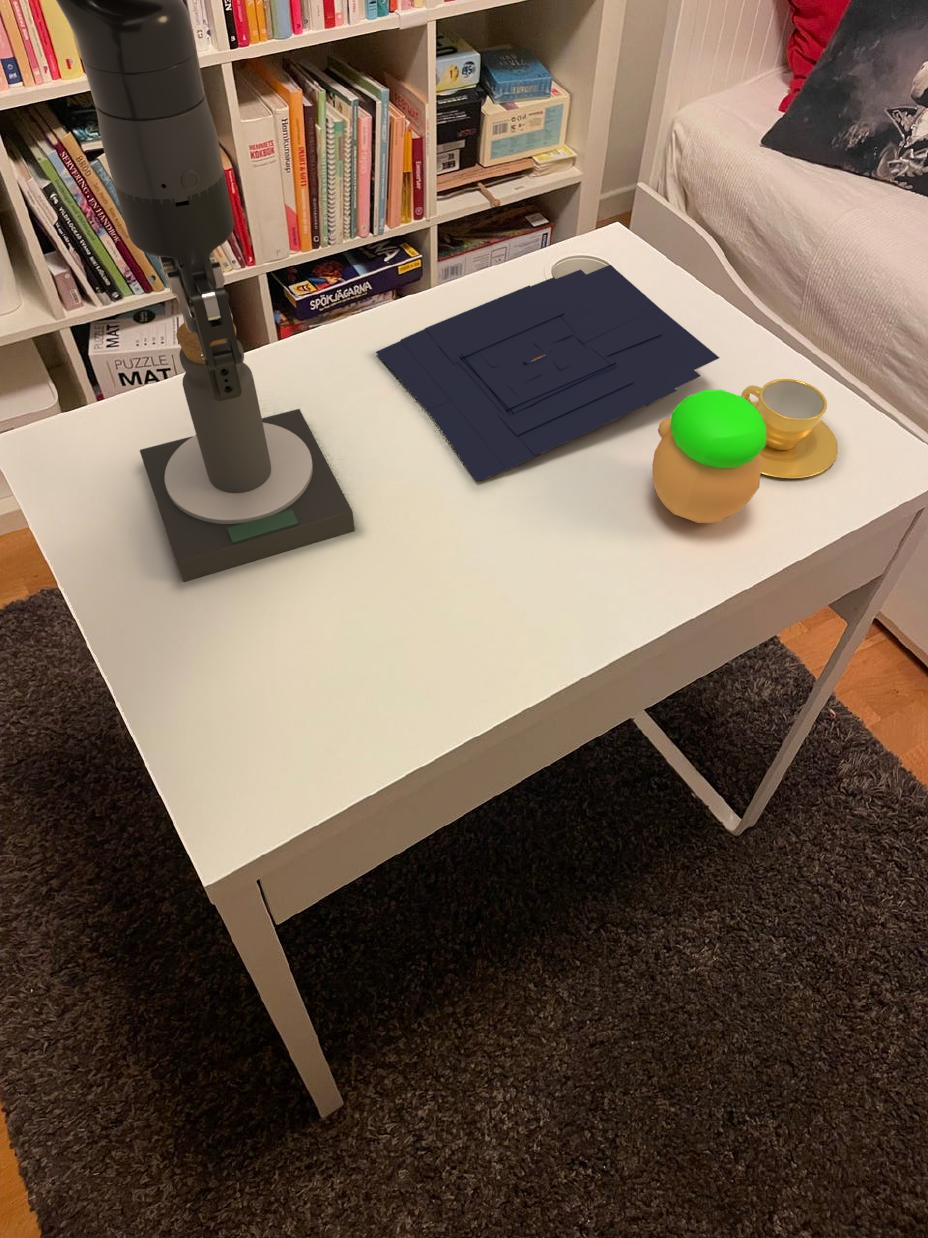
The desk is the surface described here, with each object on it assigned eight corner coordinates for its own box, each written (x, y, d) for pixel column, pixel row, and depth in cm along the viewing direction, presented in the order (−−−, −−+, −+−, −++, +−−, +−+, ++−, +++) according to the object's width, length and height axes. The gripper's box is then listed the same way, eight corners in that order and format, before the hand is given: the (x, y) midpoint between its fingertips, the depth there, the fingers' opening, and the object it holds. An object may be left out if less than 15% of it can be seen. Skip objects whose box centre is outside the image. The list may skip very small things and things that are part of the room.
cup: (856, 438, 92) (876, 395, 88) (801, 498, 86) (819, 455, 82) (754, 389, 97) (768, 346, 93) (695, 443, 91) (707, 400, 87)
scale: (183, 582, 79) (174, 558, 76) (146, 469, 88) (137, 444, 85) (355, 530, 83) (352, 506, 80) (302, 427, 92) (298, 403, 89)
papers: (727, 388, 95) (732, 360, 92) (481, 502, 89) (478, 477, 86) (600, 277, 108) (601, 249, 105) (378, 370, 102) (372, 343, 99)
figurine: (764, 531, 83) (804, 430, 74) (670, 552, 82) (699, 451, 72) (709, 454, 90) (739, 352, 81) (621, 472, 88) (641, 370, 79)
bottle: (195, 472, 83) (153, 331, 71) (245, 442, 86) (213, 301, 74) (234, 503, 80) (198, 362, 69) (284, 471, 83) (258, 330, 71)
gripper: (93, 134, 64) (151, 331, 77) (132, 227, 56) (190, 429, 69) (196, 118, 66) (236, 312, 79) (248, 205, 58) (283, 406, 71)
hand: (215, 367), depth 74 cm, fingers open, 8 cm apart
